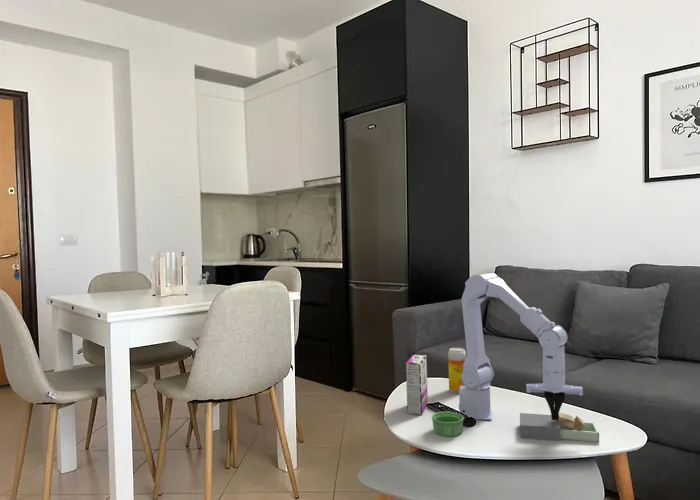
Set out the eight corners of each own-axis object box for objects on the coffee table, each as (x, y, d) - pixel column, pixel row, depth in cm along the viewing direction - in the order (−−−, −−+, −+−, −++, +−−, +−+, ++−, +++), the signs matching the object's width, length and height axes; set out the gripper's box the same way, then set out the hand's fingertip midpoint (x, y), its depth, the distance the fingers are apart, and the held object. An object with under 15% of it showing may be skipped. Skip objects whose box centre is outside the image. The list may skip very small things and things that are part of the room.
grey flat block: (521, 437, 145) (521, 425, 144) (520, 424, 154) (519, 412, 154) (560, 440, 142) (560, 427, 142) (556, 427, 152) (556, 415, 151)
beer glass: (462, 394, 184) (461, 351, 183) (446, 392, 187) (445, 350, 187) (468, 390, 189) (468, 348, 188) (452, 387, 192) (452, 346, 192)
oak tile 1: (557, 423, 145) (559, 416, 145) (555, 418, 149) (557, 411, 148) (572, 428, 144) (574, 421, 144) (570, 423, 148) (572, 416, 147)
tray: (561, 439, 143) (561, 429, 143) (558, 429, 150) (557, 420, 150) (599, 442, 140) (599, 432, 140) (594, 431, 148) (594, 422, 148)
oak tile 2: (579, 420, 143) (585, 425, 143) (576, 415, 147) (583, 420, 147) (569, 431, 144) (576, 436, 144) (567, 426, 148) (573, 431, 148)
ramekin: (432, 425, 156) (431, 410, 155) (463, 426, 154) (463, 411, 154) (431, 437, 147) (431, 421, 147) (464, 438, 145) (464, 422, 145)
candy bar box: (413, 403, 176) (412, 354, 176) (428, 404, 174) (427, 355, 174) (406, 414, 165) (405, 362, 165) (421, 415, 164) (420, 363, 163)
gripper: (527, 373, 145) (527, 422, 145) (584, 375, 141) (584, 425, 141) (525, 366, 151) (526, 413, 152) (580, 368, 147) (580, 416, 148)
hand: (554, 418), depth 147 cm, fingers closed
